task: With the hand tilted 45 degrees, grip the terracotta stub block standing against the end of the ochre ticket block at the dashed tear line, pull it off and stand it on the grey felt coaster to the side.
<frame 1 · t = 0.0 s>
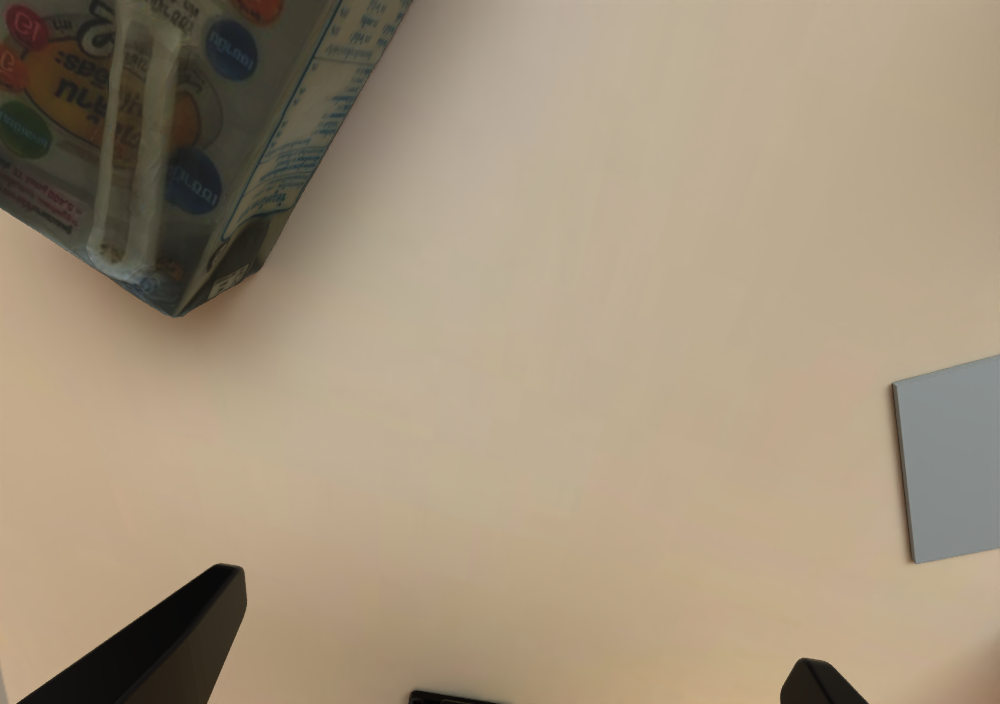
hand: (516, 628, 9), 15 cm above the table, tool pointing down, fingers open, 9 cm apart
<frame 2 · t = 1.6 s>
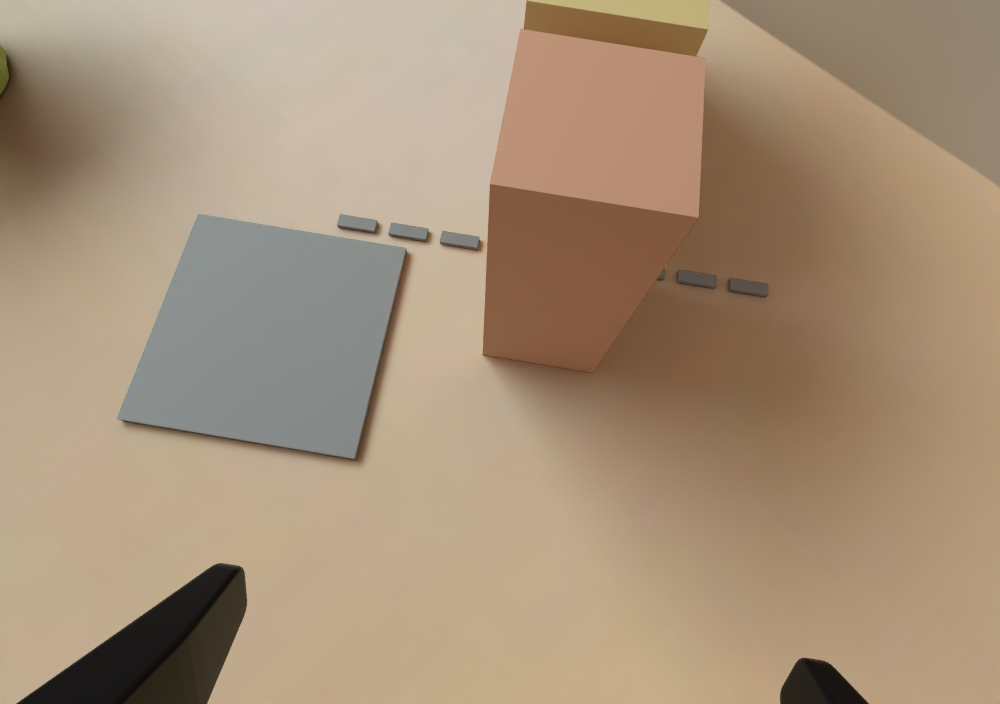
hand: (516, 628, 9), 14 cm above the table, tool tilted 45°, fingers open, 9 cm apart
coaster: (273, 330, 25), on the table
stub: (544, 313, 26), on the table
perforation marks: (551, 256, 27), on the table
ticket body: (570, 131, 29), on the table
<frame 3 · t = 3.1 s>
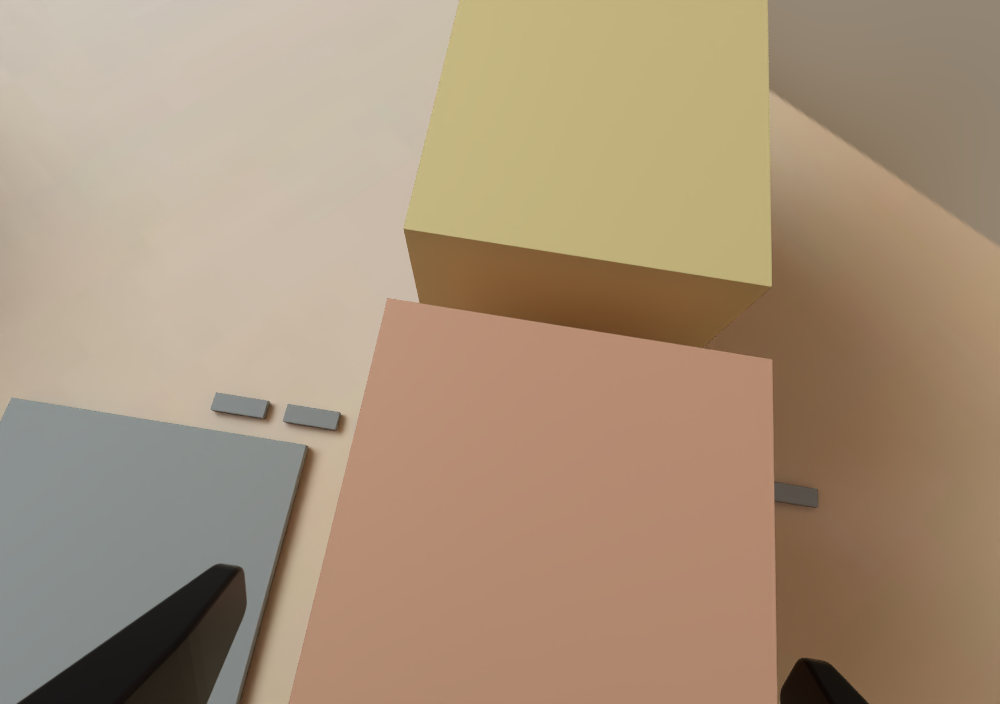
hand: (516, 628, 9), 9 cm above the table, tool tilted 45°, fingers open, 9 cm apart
coaster: (105, 580, 17), on the table
stub: (502, 541, 18), on the table
perforation marks: (513, 450, 19), on the table
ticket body: (542, 259, 22), on the table
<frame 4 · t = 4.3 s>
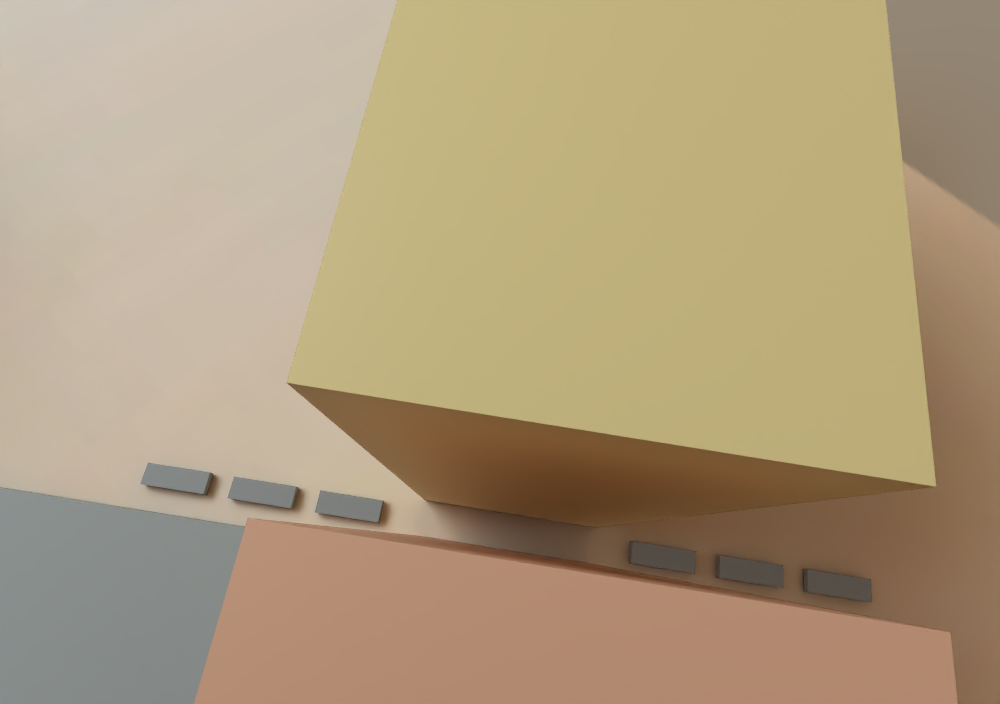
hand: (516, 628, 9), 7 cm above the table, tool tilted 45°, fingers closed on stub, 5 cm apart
coaster: (5, 703, 14), on the table
stub: (490, 647, 15), on the table, touching gripper
perforation marks: (505, 531, 16), on the table
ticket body: (540, 295, 18), on the table
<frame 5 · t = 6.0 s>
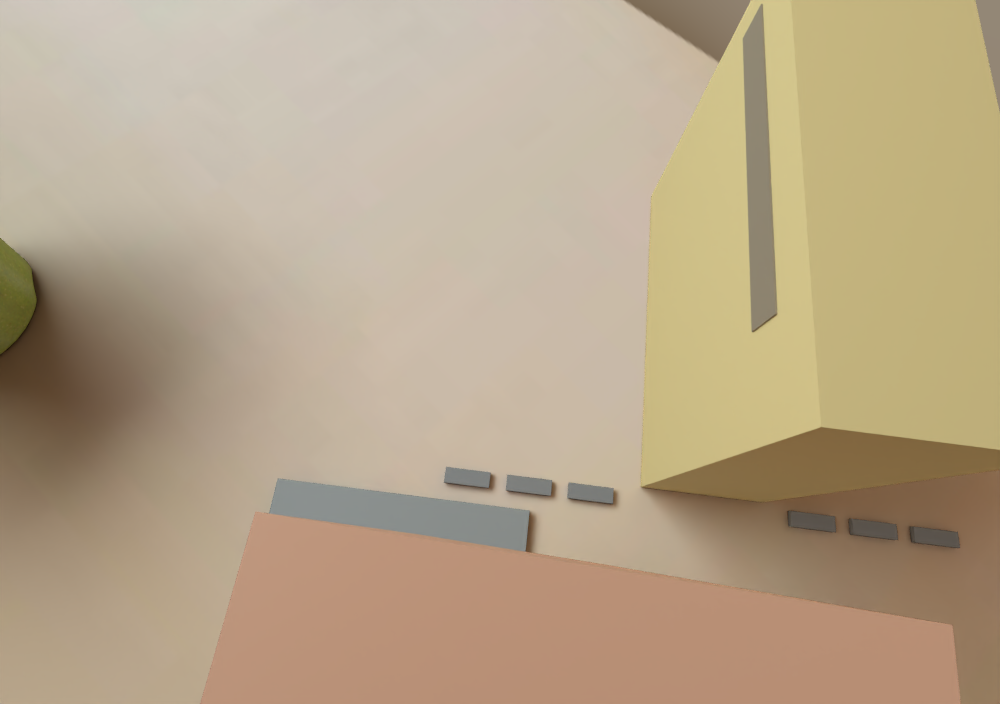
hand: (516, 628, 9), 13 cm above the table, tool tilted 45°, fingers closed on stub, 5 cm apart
coaster: (380, 633, 21), on the table
stub: (492, 646, 15), point 6 cm above the table, touching gripper
perforation marks: (700, 507, 22), on the table
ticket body: (701, 335, 25), on the table
when the fingers open (8 cm above the table, at t = 7.6 s): stub stays where it is, resting on coaster.
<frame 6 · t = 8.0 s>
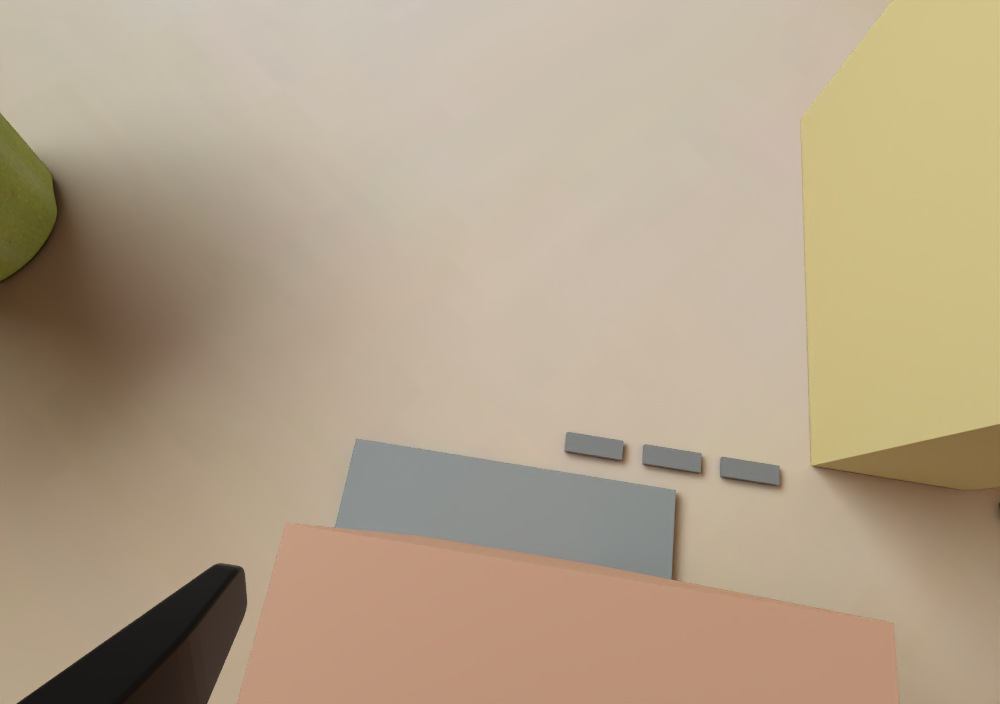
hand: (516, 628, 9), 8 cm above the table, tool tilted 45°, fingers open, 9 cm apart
coaster: (489, 641, 16), on the table
stub: (492, 643, 16), resting on coaster
perforation marks: (888, 494, 18), on the table
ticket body: (874, 283, 20), on the table
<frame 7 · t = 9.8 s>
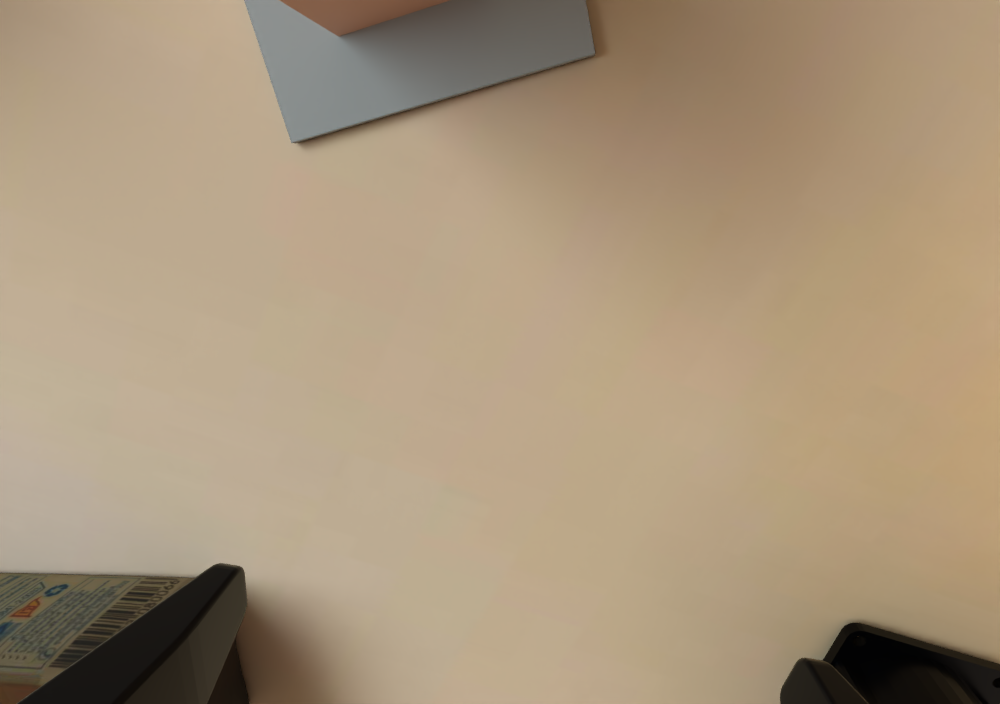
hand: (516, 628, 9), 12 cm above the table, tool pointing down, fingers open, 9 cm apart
beverage carton: (66, 627, 27), on the table
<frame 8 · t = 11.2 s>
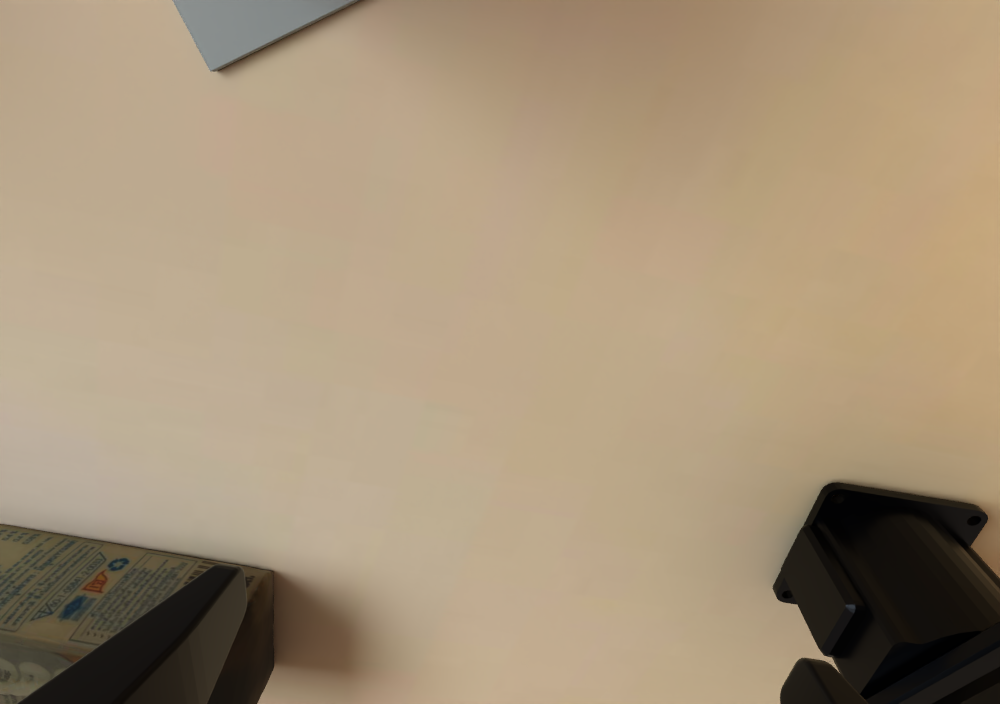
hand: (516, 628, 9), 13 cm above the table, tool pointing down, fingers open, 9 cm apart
beverage carton: (106, 582, 29), on the table
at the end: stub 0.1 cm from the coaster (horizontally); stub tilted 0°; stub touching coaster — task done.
